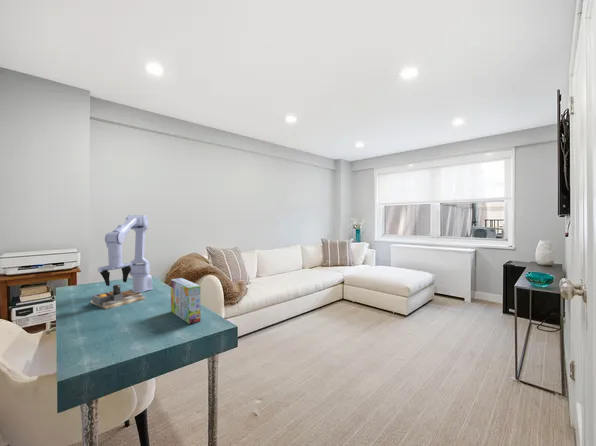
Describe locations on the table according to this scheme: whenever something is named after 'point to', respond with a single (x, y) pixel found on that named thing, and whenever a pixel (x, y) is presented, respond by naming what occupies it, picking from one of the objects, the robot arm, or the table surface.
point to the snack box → (186, 300)
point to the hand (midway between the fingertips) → (116, 283)
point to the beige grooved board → (127, 298)
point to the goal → (100, 299)
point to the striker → (115, 293)
